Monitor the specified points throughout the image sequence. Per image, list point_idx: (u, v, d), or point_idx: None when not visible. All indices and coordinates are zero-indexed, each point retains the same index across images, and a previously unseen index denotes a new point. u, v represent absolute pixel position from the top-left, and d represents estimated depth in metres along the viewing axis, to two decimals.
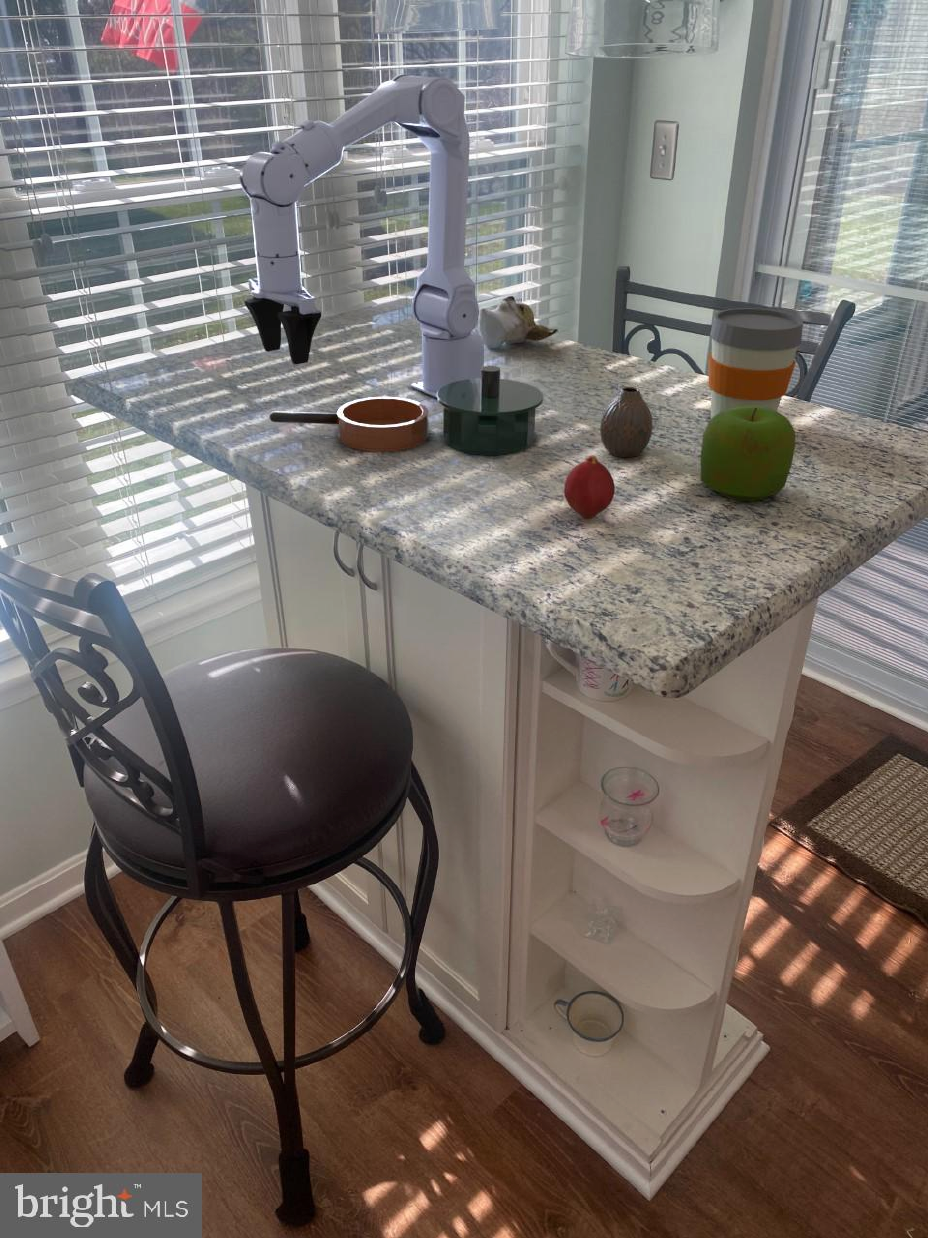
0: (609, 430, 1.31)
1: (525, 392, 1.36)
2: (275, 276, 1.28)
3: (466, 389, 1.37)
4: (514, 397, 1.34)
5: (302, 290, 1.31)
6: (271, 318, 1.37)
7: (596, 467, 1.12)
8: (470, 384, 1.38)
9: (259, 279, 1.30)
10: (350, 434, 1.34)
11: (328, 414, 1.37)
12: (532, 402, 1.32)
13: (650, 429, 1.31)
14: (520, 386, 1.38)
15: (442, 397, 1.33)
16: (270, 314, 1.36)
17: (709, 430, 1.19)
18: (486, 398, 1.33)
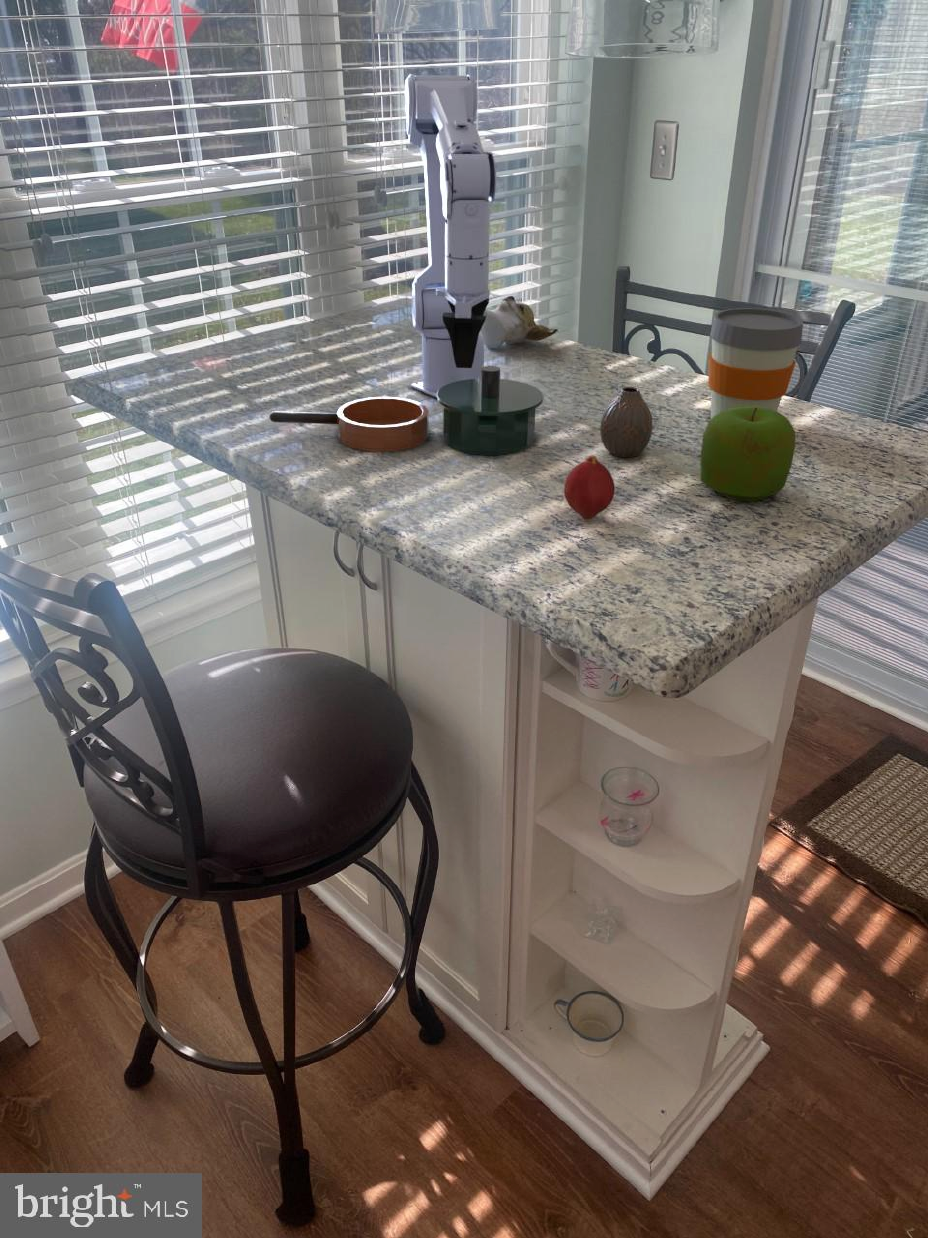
0: (609, 430, 1.31)
1: (525, 392, 1.36)
2: (451, 276, 1.27)
3: (466, 389, 1.37)
4: (514, 397, 1.34)
5: (479, 295, 1.28)
6: None
7: (596, 467, 1.12)
8: (470, 384, 1.38)
9: None
10: (350, 434, 1.34)
11: (328, 414, 1.37)
12: (532, 402, 1.32)
13: (650, 429, 1.31)
14: (520, 386, 1.38)
15: (442, 397, 1.33)
16: None
17: (709, 430, 1.19)
18: (486, 398, 1.33)
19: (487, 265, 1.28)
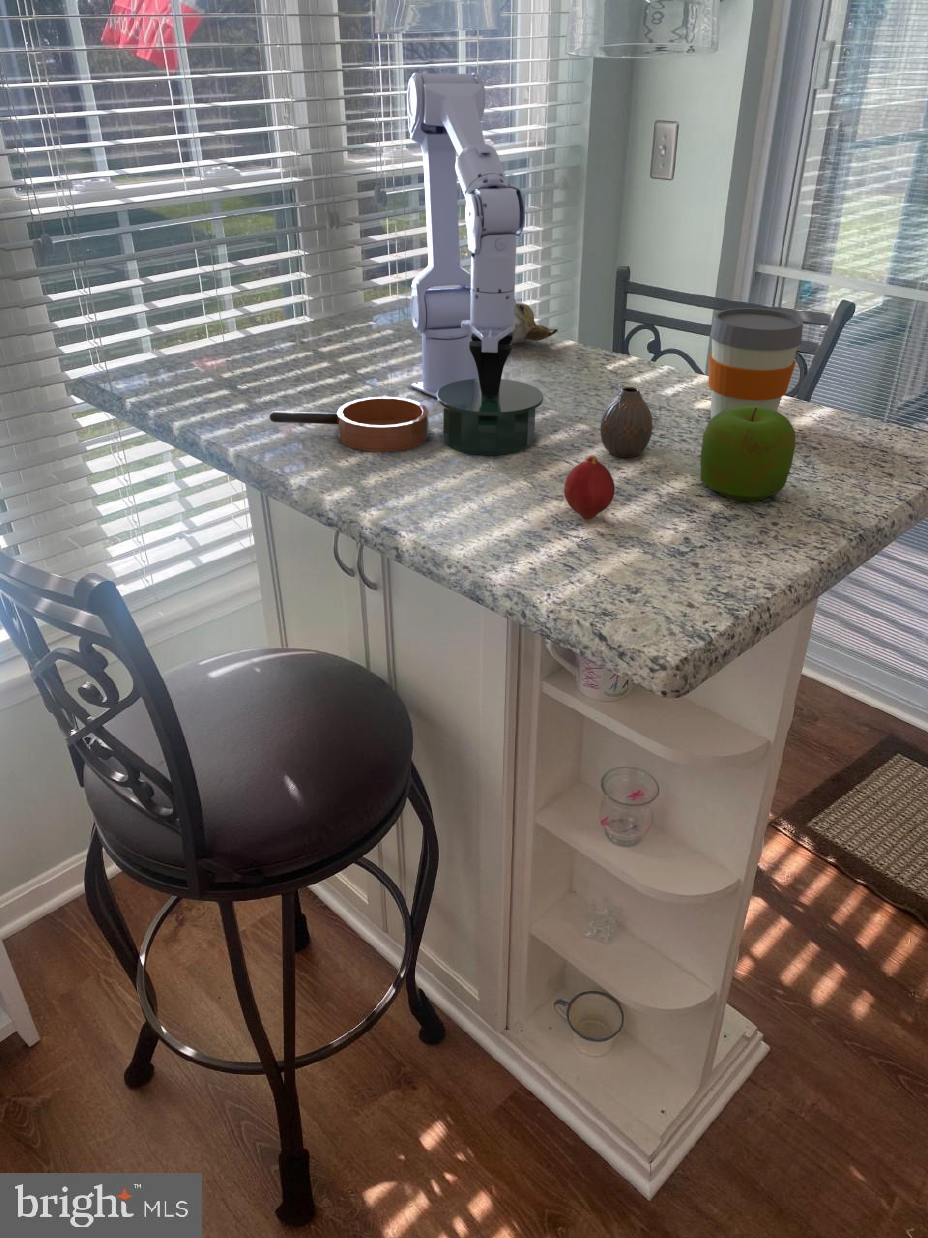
0: (609, 430, 1.31)
1: (525, 392, 1.36)
2: (477, 310, 1.27)
3: (466, 389, 1.37)
4: (514, 397, 1.34)
5: (505, 328, 1.28)
6: None
7: (596, 467, 1.12)
8: (470, 384, 1.38)
9: None
10: (350, 434, 1.34)
11: (328, 414, 1.37)
12: (532, 402, 1.32)
13: (650, 429, 1.31)
14: (520, 386, 1.38)
15: (442, 397, 1.33)
16: None
17: (709, 430, 1.19)
18: (486, 398, 1.33)
19: (513, 298, 1.27)
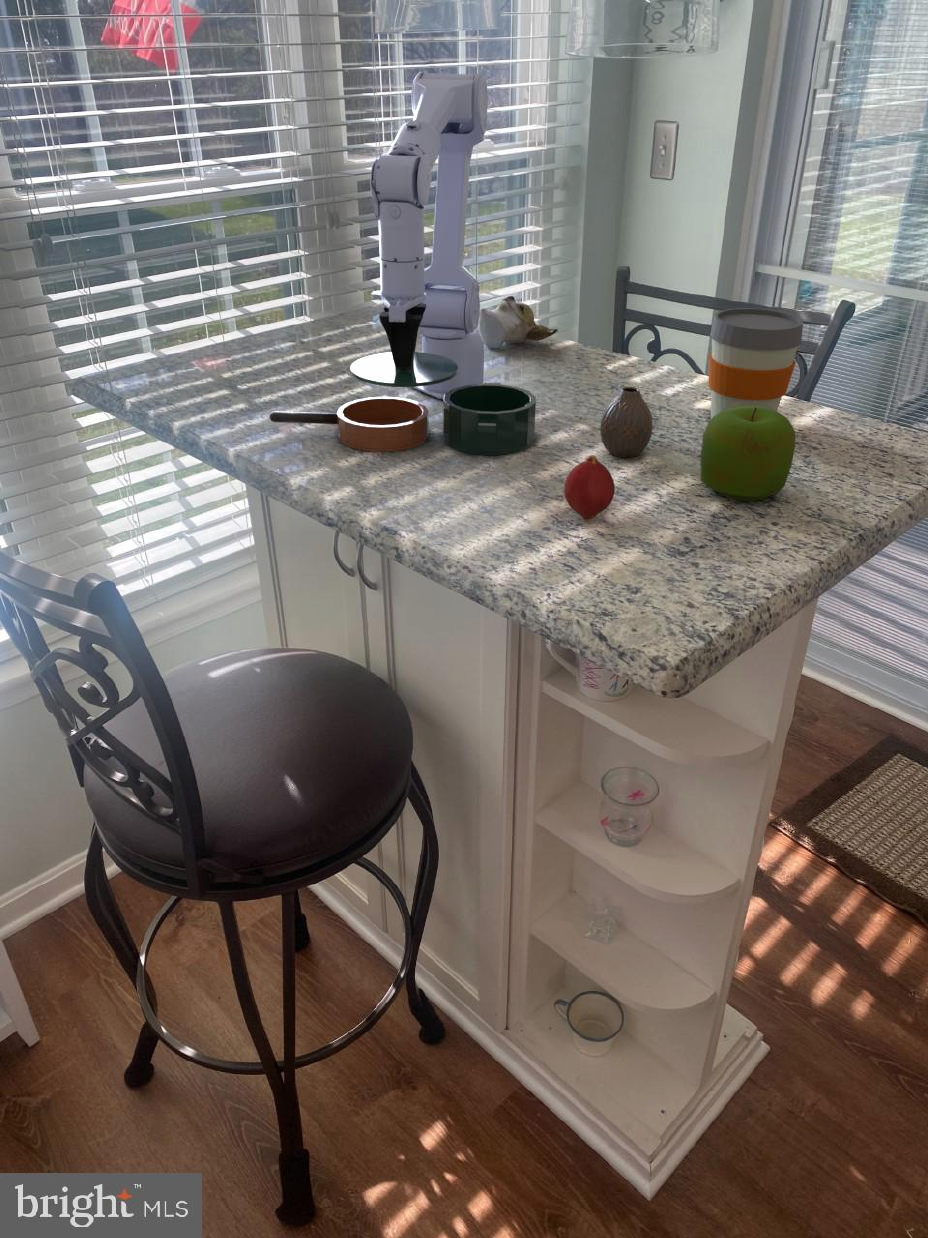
0: (609, 430, 1.31)
1: (440, 364, 1.34)
2: (386, 280, 1.26)
3: (381, 362, 1.35)
4: (428, 369, 1.33)
5: (415, 298, 1.26)
6: None
7: (596, 467, 1.12)
8: (386, 357, 1.37)
9: None
10: (350, 434, 1.34)
11: (328, 414, 1.37)
12: (445, 374, 1.31)
13: (650, 429, 1.31)
14: (437, 358, 1.37)
15: (355, 369, 1.32)
16: None
17: (709, 430, 1.19)
18: (399, 370, 1.32)
19: (422, 268, 1.26)
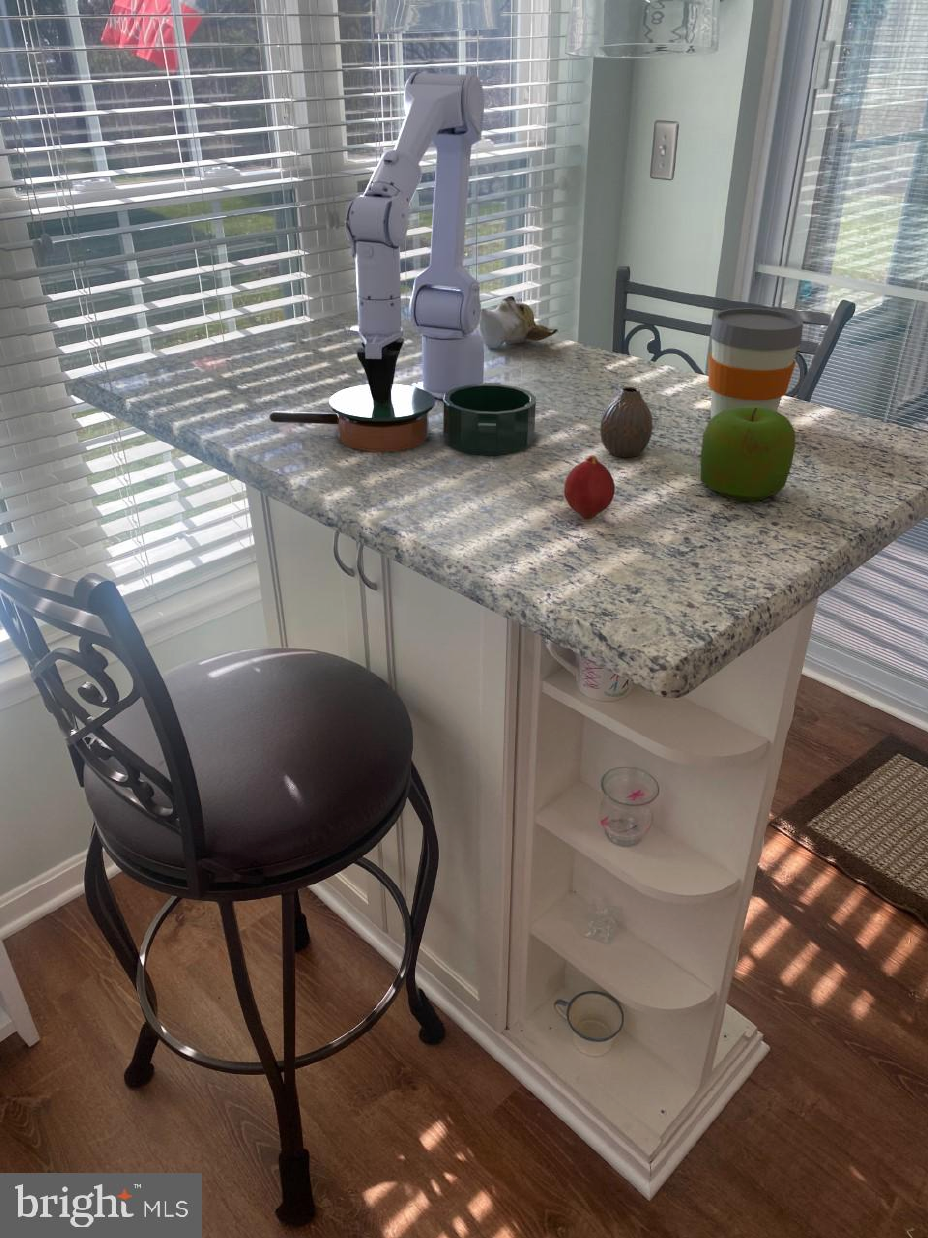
0: (609, 430, 1.31)
1: (418, 397, 1.37)
2: (363, 316, 1.28)
3: (360, 394, 1.38)
4: (405, 402, 1.35)
5: (391, 335, 1.29)
6: None
7: (596, 467, 1.12)
8: (365, 389, 1.40)
9: None
10: (350, 434, 1.34)
11: (328, 414, 1.37)
12: (422, 407, 1.33)
13: (650, 429, 1.31)
14: (415, 391, 1.39)
15: (334, 402, 1.35)
16: None
17: (709, 430, 1.19)
18: (377, 404, 1.35)
19: (399, 305, 1.29)
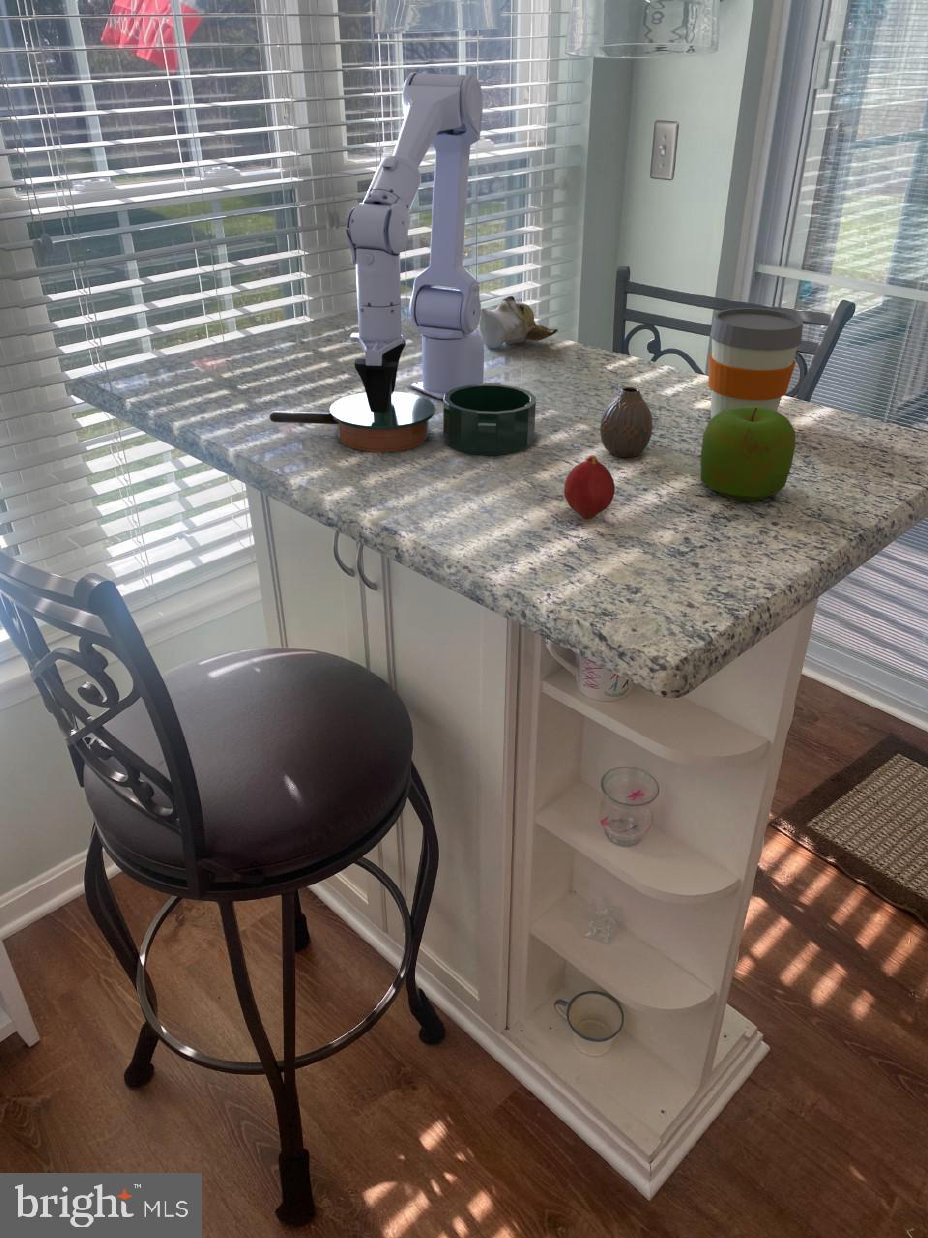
0: (609, 430, 1.31)
1: (418, 405, 1.38)
2: (363, 323, 1.29)
3: (360, 402, 1.38)
4: (406, 411, 1.36)
5: (392, 342, 1.29)
6: None
7: (596, 467, 1.12)
8: (366, 397, 1.40)
9: None
10: (350, 434, 1.34)
11: (328, 414, 1.37)
12: (422, 416, 1.34)
13: (650, 429, 1.31)
14: (415, 399, 1.40)
15: (334, 411, 1.35)
16: (385, 359, 1.37)
17: (709, 430, 1.19)
18: (377, 412, 1.35)
19: (399, 312, 1.29)
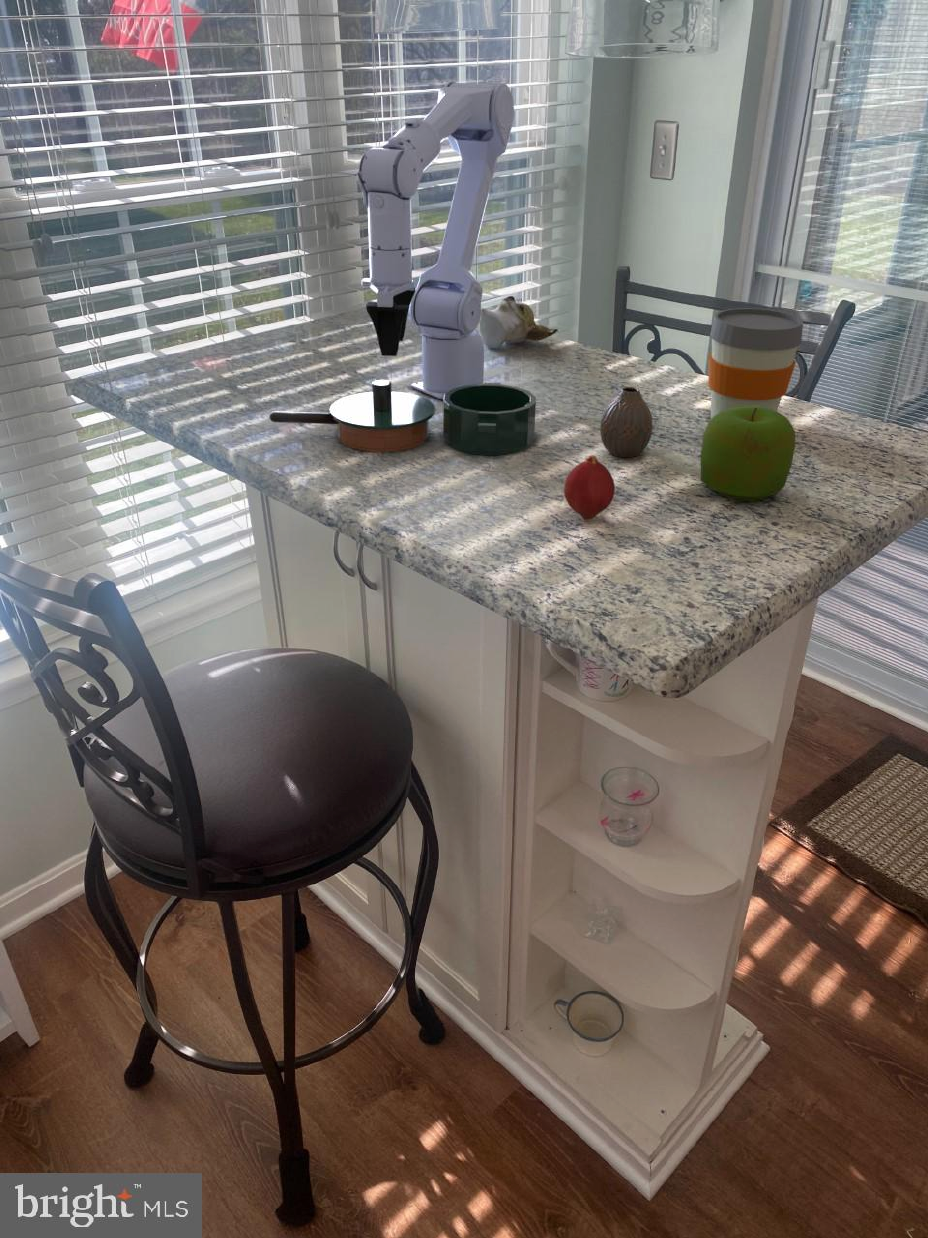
0: (609, 430, 1.31)
1: (418, 405, 1.38)
2: (375, 267, 1.32)
3: (360, 402, 1.38)
4: (406, 411, 1.36)
5: (402, 285, 1.33)
6: None
7: (596, 467, 1.12)
8: (366, 397, 1.40)
9: None
10: (350, 434, 1.34)
11: (328, 414, 1.37)
12: (422, 416, 1.34)
13: (650, 429, 1.31)
14: (415, 399, 1.40)
15: (334, 411, 1.35)
16: None
17: (709, 430, 1.19)
18: (377, 412, 1.35)
19: (409, 256, 1.32)
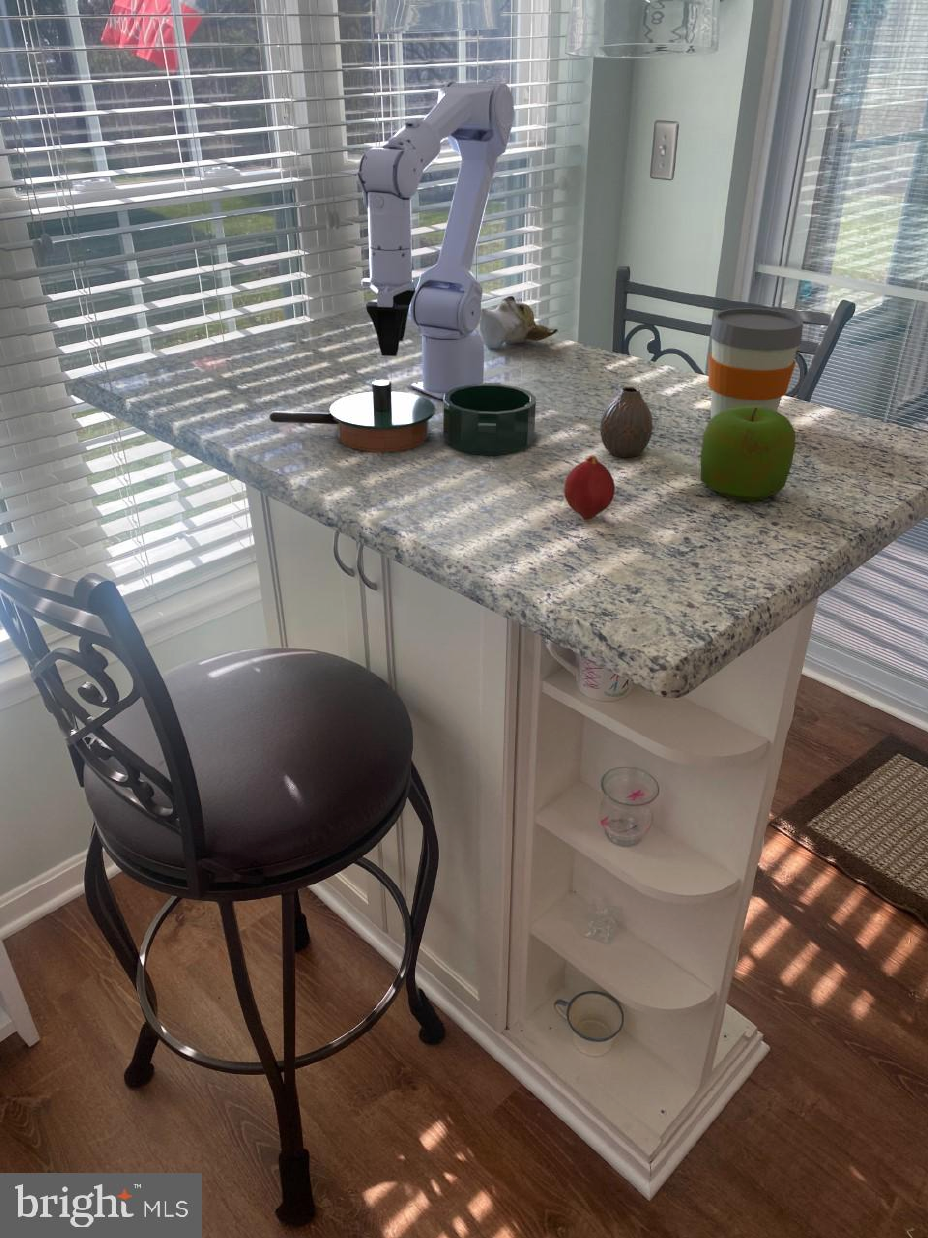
0: (609, 430, 1.31)
1: (418, 405, 1.38)
2: (375, 267, 1.32)
3: (360, 402, 1.38)
4: (406, 411, 1.36)
5: (402, 285, 1.33)
6: None
7: (596, 467, 1.12)
8: (366, 397, 1.40)
9: None
10: (350, 434, 1.34)
11: (328, 414, 1.37)
12: (422, 416, 1.34)
13: (650, 429, 1.31)
14: (415, 399, 1.40)
15: (334, 411, 1.35)
16: None
17: (709, 430, 1.19)
18: (377, 412, 1.35)
19: (409, 256, 1.32)
